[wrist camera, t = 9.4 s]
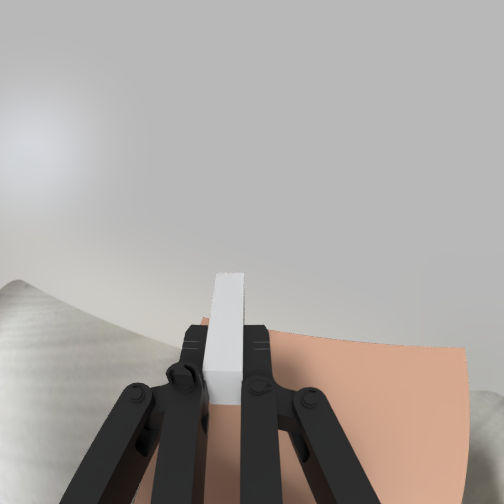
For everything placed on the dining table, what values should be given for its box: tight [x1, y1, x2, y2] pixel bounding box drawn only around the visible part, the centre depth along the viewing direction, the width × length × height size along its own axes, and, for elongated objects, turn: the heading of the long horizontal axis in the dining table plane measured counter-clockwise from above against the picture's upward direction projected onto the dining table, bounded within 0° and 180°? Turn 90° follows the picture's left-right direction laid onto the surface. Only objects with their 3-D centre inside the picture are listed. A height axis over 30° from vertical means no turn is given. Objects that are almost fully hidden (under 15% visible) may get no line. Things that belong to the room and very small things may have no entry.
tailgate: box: [134, 317, 470, 504], centre depth 11 cm, size 19×1×16 cm
